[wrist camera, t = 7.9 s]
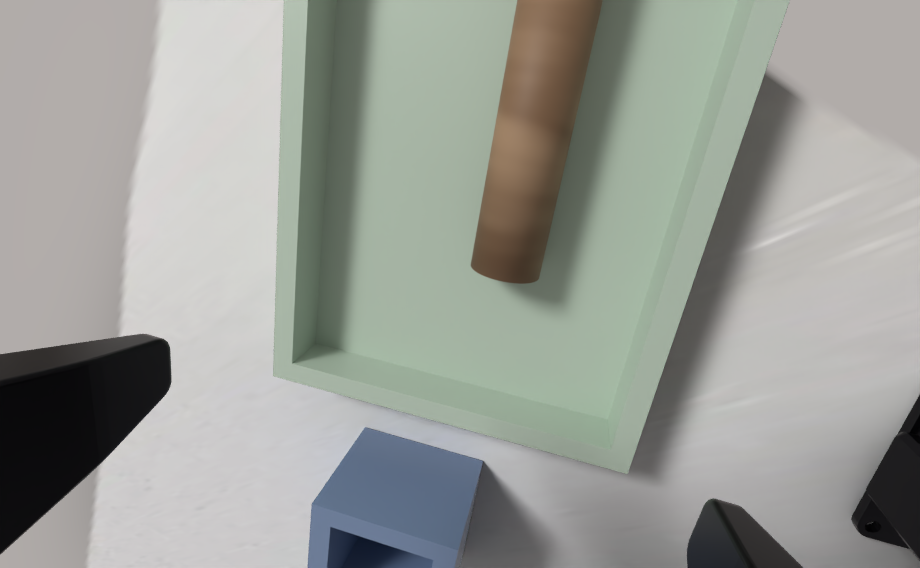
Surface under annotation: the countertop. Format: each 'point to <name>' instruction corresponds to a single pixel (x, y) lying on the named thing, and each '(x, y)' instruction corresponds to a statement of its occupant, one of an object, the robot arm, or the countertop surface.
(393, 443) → the slate blue cup
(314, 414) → the countertop surface
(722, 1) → the sage tray
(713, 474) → the countertop surface
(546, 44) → the walnut dowel
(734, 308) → the countertop surface
